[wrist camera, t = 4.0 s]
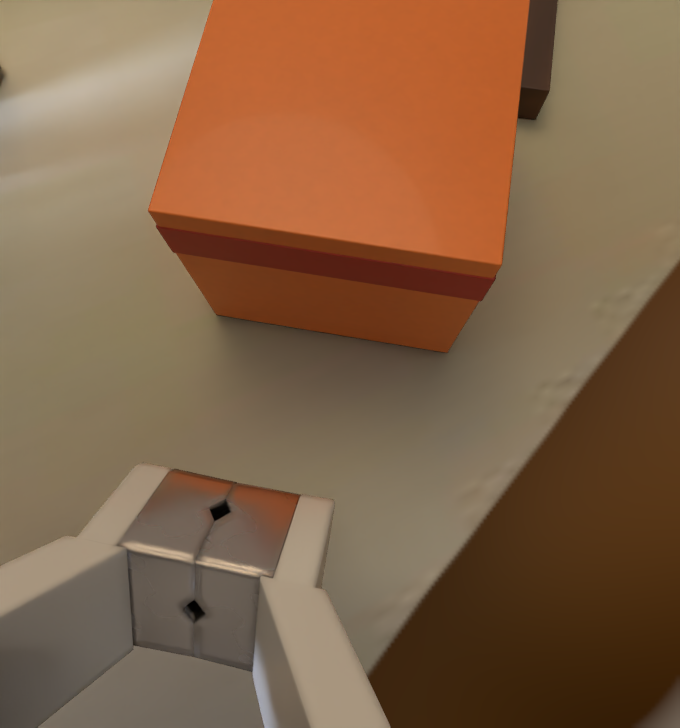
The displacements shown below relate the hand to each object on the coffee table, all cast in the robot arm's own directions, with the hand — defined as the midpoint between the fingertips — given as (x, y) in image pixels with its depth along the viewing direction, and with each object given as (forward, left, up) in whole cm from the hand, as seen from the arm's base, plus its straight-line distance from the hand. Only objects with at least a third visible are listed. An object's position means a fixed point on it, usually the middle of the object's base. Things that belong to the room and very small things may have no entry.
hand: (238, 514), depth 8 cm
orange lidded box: (-1, +15, -15) cm, 21 cm away
